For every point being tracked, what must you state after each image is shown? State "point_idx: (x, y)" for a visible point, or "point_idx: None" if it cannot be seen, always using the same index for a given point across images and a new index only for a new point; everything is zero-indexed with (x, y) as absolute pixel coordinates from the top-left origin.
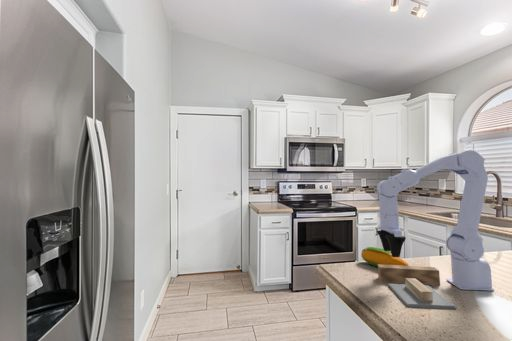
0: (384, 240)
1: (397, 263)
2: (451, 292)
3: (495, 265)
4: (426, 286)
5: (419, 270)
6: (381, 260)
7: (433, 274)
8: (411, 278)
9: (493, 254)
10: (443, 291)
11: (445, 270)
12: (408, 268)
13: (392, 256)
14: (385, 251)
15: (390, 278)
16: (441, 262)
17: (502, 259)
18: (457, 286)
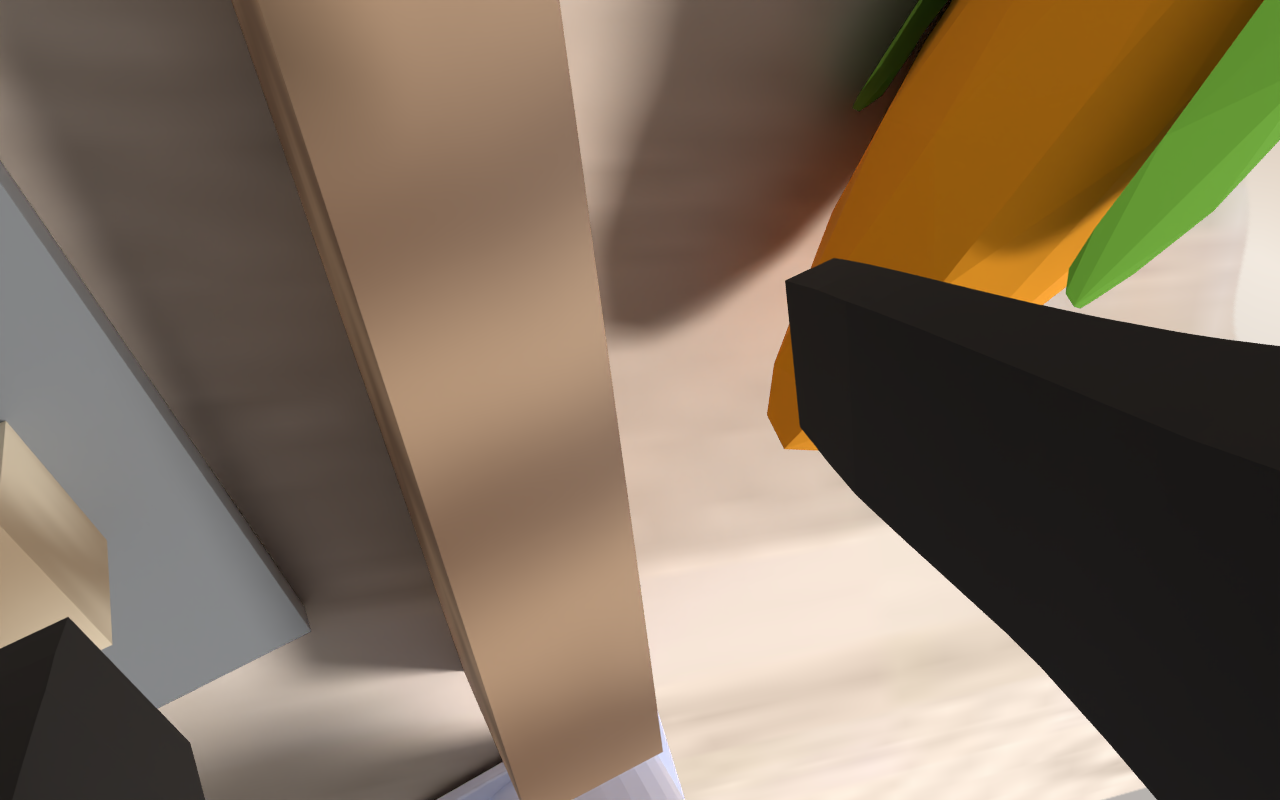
0: (1102, 504)
1: None
2: (272, 783)
3: (1016, 791)
4: (237, 630)
5: (475, 657)
6: (1004, 22)
7: (494, 734)
8: (58, 603)
9: None
10: (258, 733)
11: (910, 618)
12: (473, 545)
13: (20, 644)
14: (1171, 164)
15: (290, 160)
16: None
17: (1109, 785)
18: (457, 794)
